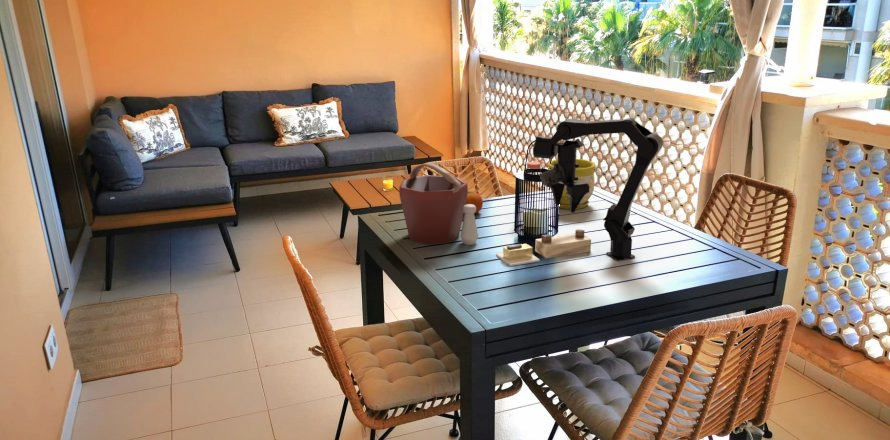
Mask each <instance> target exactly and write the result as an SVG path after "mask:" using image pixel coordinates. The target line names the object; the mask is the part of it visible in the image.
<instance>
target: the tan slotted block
mask: <svg viewBox="0 0 890 440" xmlns="http://www.w3.org/2000/svg"><path fill="white" fill-rule="evenodd" d="M502 253H503V256H504V257H505V258H506V259H508V260H515V259H521V258H528V257H532V255H533V246H531V245H529V244H527V243H523V244H522V243H518V244H513V245H507V246H503V252H502Z"/></svg>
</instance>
